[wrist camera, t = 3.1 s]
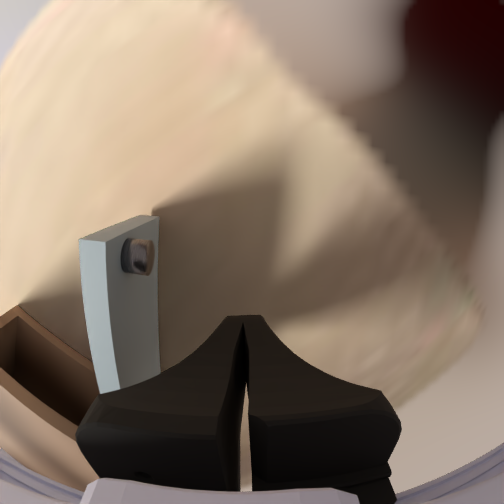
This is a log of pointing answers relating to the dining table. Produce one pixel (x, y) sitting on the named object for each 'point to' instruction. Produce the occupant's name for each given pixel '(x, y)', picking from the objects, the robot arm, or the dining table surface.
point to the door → (122, 301)
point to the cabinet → (44, 400)
